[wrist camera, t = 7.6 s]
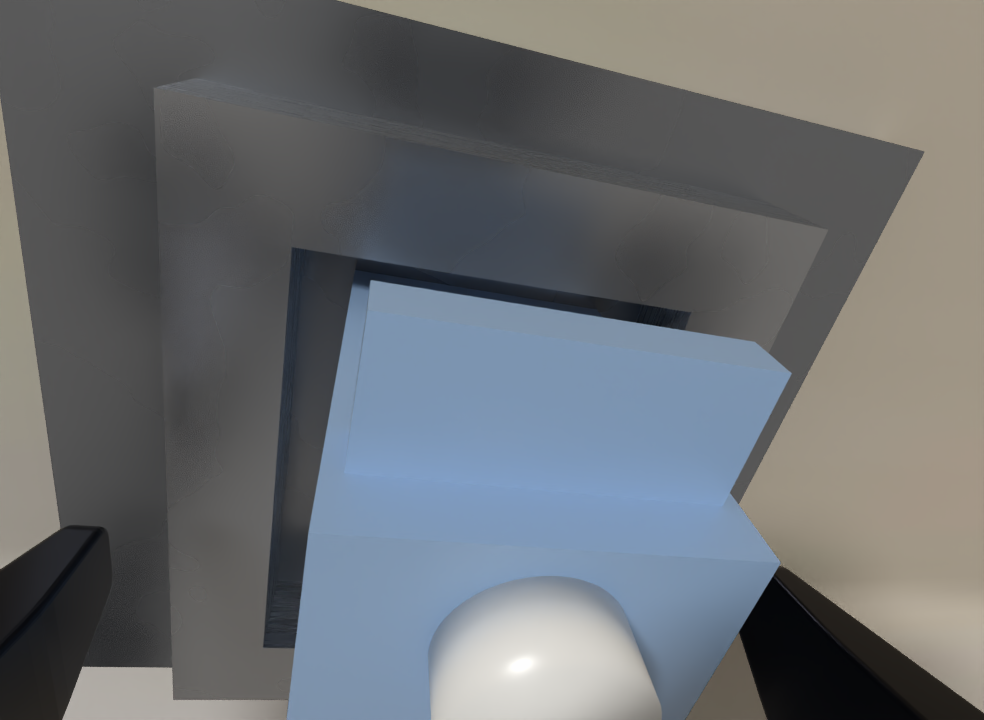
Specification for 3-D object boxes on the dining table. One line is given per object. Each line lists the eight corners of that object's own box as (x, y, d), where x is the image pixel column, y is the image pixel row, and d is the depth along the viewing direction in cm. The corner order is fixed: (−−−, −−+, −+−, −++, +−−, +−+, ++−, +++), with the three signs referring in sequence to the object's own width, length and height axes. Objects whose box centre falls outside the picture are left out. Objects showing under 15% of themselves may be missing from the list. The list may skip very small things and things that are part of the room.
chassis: (636, 637, 16) (673, 732, 14) (100, 624, 13) (42, 741, 11) (880, 141, 10) (1008, 170, 8) (23, -78, 7) (-131, -124, 5)
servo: (496, 613, 13) (565, 1018, 8) (311, 607, 12) (243, 1059, 7) (625, 223, 9) (951, 492, 4) (367, 171, 8) (314, 426, 3)
